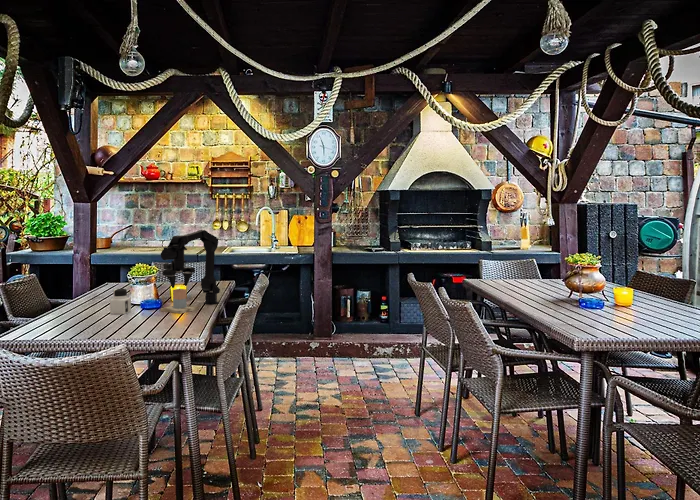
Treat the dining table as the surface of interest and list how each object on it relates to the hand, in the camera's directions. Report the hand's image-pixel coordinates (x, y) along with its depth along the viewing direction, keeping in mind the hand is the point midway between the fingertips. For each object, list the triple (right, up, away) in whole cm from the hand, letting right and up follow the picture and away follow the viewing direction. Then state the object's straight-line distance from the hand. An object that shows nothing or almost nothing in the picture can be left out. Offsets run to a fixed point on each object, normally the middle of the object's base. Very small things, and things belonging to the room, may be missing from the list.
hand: (179, 286), depth 300 cm
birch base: (0, -13, +1) cm, 13 cm away
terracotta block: (0, -7, +1) cm, 7 cm away
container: (-29, -14, -7) cm, 33 cm away
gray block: (0, -11, +1) cm, 12 cm away
